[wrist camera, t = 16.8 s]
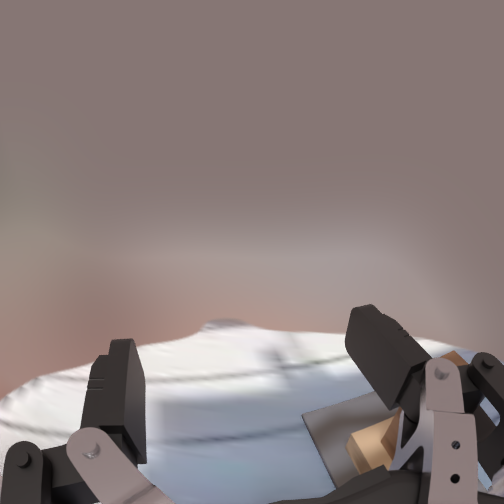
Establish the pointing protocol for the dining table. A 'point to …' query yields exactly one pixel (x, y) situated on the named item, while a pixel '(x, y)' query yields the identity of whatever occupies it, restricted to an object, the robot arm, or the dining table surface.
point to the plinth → (352, 436)
